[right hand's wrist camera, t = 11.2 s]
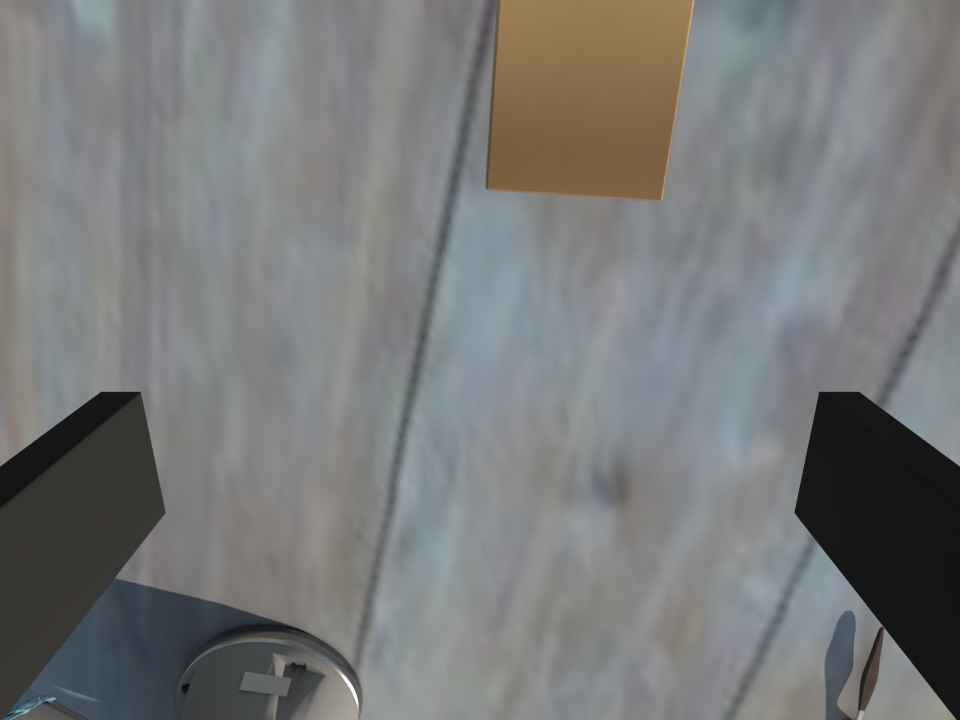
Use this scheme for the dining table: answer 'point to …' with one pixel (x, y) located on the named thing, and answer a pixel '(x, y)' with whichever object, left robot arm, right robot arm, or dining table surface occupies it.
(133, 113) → the dining table surface
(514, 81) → the bar
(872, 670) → the fork
